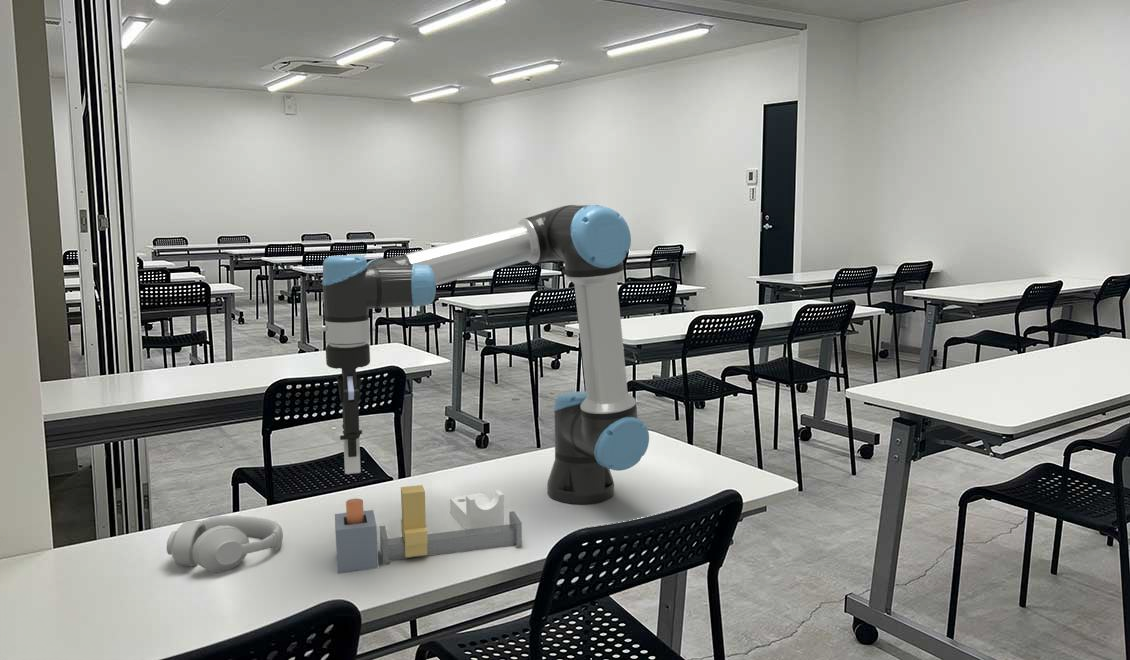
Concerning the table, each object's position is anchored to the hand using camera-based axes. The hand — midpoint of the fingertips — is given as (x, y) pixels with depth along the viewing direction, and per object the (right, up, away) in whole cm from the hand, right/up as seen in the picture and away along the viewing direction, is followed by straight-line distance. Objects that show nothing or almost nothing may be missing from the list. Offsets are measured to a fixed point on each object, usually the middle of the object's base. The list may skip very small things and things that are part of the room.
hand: (352, 471), depth 151 cm
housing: (0, -17, +3) cm, 17 cm away
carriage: (+10, -16, +6) cm, 20 cm away
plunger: (0, -10, +2) cm, 11 cm away
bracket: (+20, -14, +22) cm, 33 cm away
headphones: (-25, -17, +6) cm, 31 cm away
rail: (+17, -16, +8) cm, 25 cm away
